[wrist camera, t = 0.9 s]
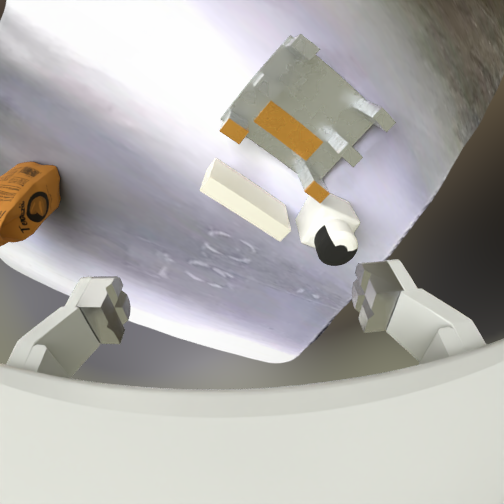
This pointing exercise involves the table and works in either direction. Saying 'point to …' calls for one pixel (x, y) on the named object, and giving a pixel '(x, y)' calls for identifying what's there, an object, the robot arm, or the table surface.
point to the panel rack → (303, 114)
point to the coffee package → (27, 199)
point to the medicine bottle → (329, 229)
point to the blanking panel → (246, 199)
